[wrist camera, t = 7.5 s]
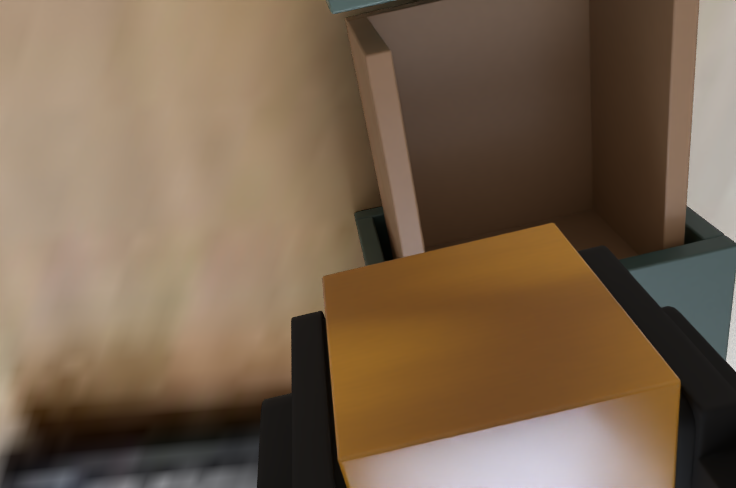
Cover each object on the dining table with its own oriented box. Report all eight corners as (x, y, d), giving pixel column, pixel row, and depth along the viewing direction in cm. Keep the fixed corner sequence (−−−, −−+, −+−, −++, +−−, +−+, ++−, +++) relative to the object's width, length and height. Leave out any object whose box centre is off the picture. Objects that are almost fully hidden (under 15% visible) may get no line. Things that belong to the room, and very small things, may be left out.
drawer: (280, -191, 21) (279, -231, 15) (613, -264, 21) (755, -334, 15) (377, 260, 30) (403, 358, 23) (613, 207, 30) (703, 290, 24)
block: (369, 440, 13) (399, 649, 9) (320, 275, 11) (336, 460, 7) (565, 395, 13) (671, 587, 9) (553, 221, 11) (683, 380, 7)
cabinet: (353, 212, 29) (379, 326, 22) (617, 152, 30) (739, 244, 22) (403, 434, 37) (437, 583, 29) (616, 385, 37) (708, 520, 29)
